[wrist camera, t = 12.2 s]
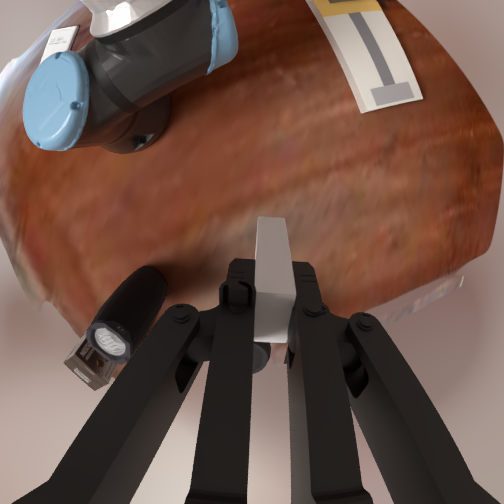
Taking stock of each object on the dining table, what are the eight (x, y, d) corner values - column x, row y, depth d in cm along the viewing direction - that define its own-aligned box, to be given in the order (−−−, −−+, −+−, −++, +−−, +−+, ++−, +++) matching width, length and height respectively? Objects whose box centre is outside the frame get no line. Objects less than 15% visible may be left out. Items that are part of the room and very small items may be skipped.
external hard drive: (38, 80, 37) (55, 31, 32) (62, 79, 37) (80, 27, 33) (34, 80, 35) (51, 30, 30) (57, 78, 36) (76, 25, 31)
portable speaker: (123, 283, 53) (75, 340, 35) (147, 254, 50) (97, 309, 32) (153, 310, 55) (117, 374, 37) (179, 283, 52) (145, 350, 34)
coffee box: (94, 319, 57) (61, 362, 42) (107, 308, 56) (73, 352, 41) (120, 345, 60) (94, 392, 45) (135, 336, 58) (108, 385, 43)
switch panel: (414, 100, 37) (423, 98, 35) (361, 113, 39) (367, 111, 37) (356, -15, 29) (361, -22, 26) (299, -8, 31) (302, -16, 28)
